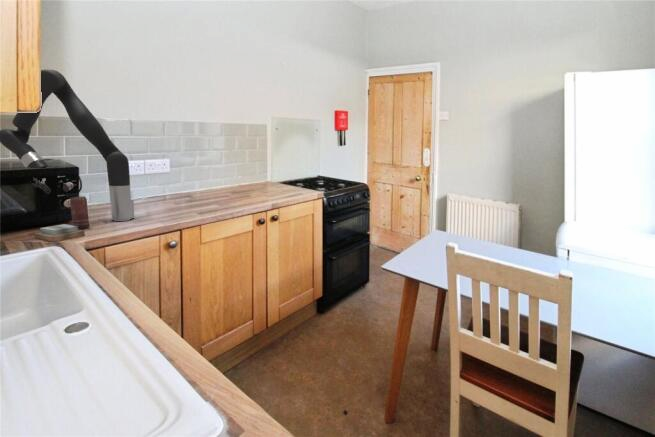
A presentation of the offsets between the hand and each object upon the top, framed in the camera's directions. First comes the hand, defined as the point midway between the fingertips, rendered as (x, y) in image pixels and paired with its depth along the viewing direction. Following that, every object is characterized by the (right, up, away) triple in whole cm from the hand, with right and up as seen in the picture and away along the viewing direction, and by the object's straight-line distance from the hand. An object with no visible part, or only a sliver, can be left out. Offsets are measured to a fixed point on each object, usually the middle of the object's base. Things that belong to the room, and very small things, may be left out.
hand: (58, 191), depth 166 cm
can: (+10, -17, 0) cm, 19 cm away
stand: (+12, -19, -16) cm, 28 cm away
